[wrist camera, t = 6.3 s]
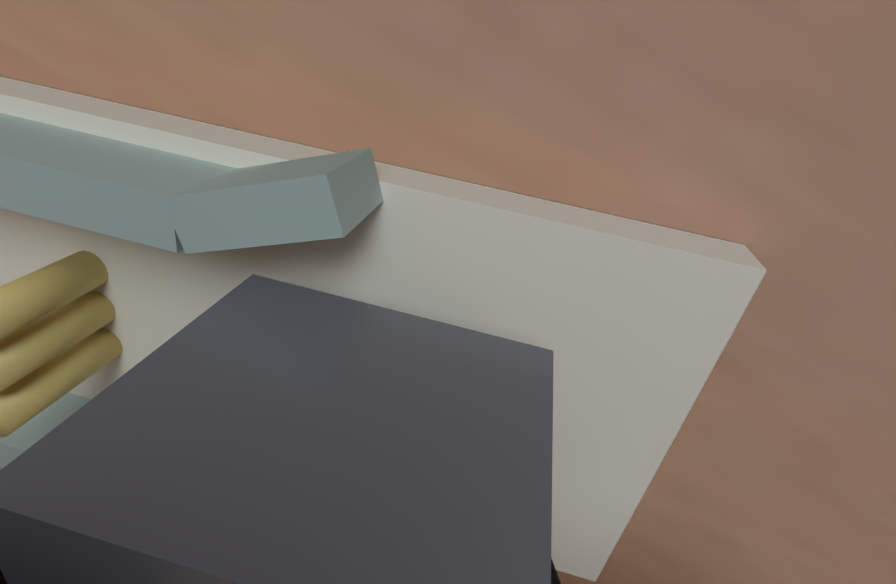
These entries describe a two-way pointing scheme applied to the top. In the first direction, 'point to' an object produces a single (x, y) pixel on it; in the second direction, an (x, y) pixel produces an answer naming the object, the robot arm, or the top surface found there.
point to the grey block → (296, 456)
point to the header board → (347, 279)
